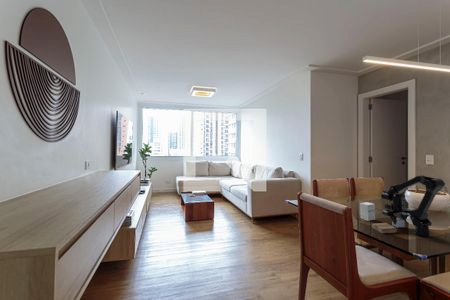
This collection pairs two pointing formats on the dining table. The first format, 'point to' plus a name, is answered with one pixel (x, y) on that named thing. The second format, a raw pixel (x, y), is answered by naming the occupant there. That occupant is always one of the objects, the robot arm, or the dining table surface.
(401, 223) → the slate block
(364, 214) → the supplement box
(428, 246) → the dining table surface
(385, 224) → the tan flat block
